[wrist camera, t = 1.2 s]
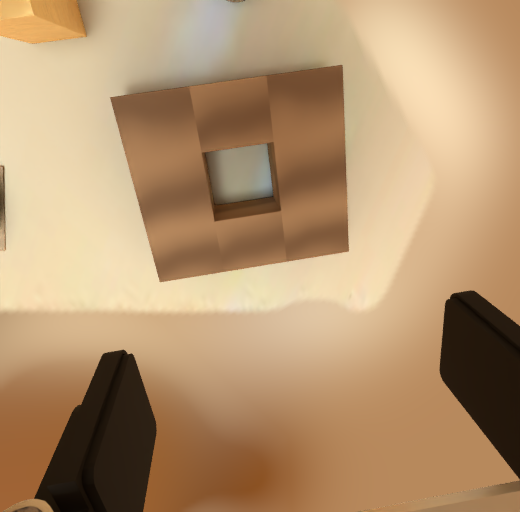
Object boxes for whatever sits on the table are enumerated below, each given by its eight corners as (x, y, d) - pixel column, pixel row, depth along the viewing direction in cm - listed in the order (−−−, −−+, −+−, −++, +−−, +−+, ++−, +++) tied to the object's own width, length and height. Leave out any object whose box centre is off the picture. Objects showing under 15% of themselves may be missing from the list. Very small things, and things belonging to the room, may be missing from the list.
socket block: (124, 96, 33) (110, 97, 29) (325, 68, 34) (342, 64, 30) (166, 260, 40) (160, 282, 35) (333, 233, 41) (348, 251, 36)
